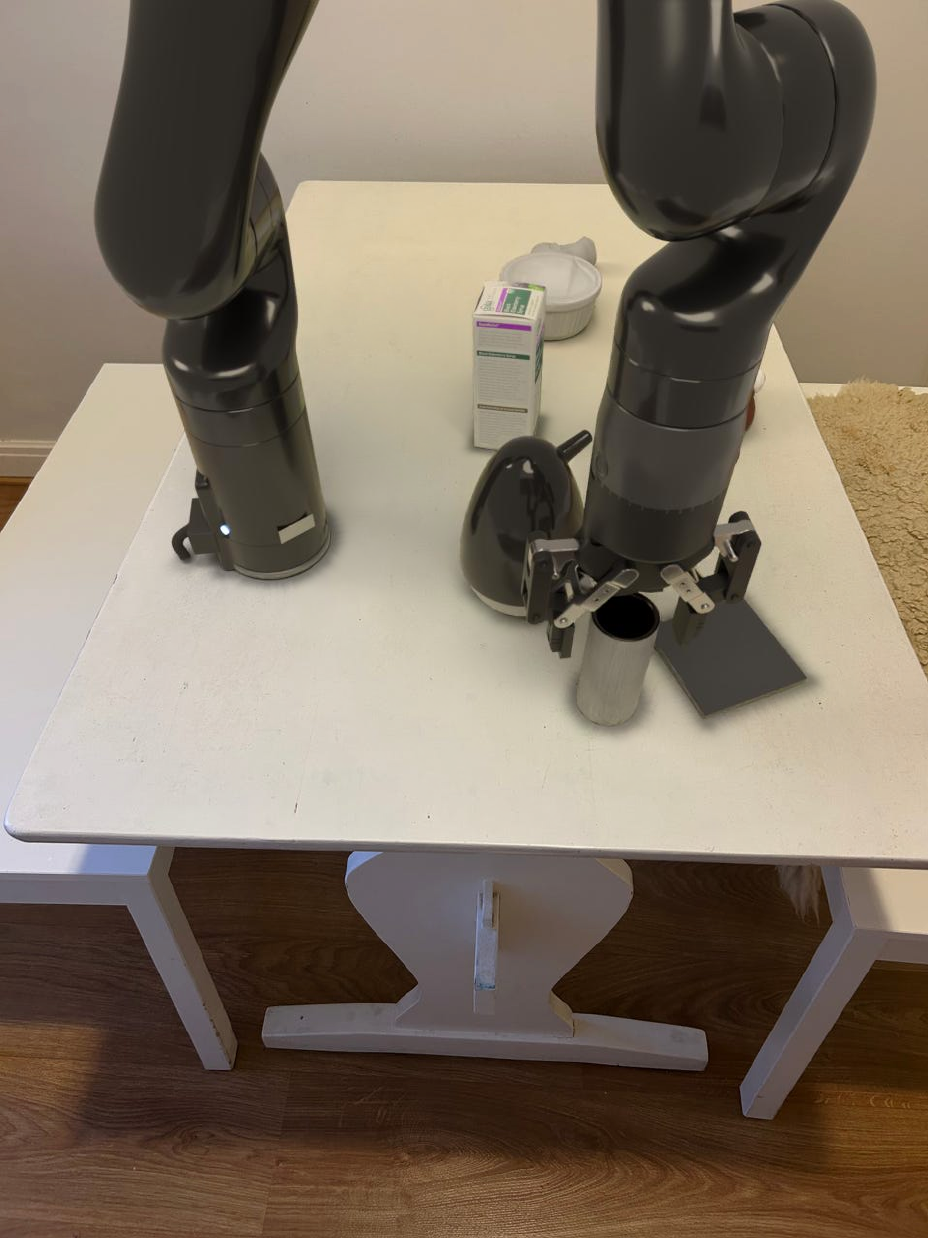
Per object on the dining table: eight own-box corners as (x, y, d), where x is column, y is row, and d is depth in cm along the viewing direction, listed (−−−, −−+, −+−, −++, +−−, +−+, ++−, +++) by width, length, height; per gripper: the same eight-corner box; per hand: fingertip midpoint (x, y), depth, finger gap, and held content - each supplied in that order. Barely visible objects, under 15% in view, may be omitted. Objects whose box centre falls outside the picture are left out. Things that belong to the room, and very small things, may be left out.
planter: (631, 675, 64) (654, 587, 56) (641, 725, 62) (666, 640, 54) (572, 677, 64) (587, 589, 56) (579, 727, 62) (596, 642, 54)
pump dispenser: (607, 604, 69) (636, 460, 57) (500, 654, 66) (506, 514, 54) (540, 528, 75) (553, 383, 63) (438, 571, 71) (431, 427, 60)
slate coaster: (704, 720, 62) (705, 715, 61) (643, 631, 67) (645, 626, 67) (805, 682, 64) (808, 677, 63) (739, 599, 69) (741, 594, 69)
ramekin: (614, 334, 94) (620, 290, 90) (523, 356, 91) (525, 312, 87) (569, 286, 101) (573, 243, 96) (483, 305, 98) (484, 261, 94)
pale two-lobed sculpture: (531, 292, 102) (526, 260, 104) (596, 288, 102) (590, 256, 104) (533, 266, 98) (528, 232, 100) (601, 261, 98) (595, 228, 100)
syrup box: (531, 455, 81) (540, 319, 70) (471, 447, 82) (471, 311, 70) (539, 419, 84) (550, 283, 73) (482, 412, 85) (484, 277, 74)
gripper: (766, 403, 48) (705, 591, 60) (519, 424, 47) (509, 611, 59) (817, 492, 43) (739, 675, 56) (543, 517, 42) (527, 698, 55)
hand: (621, 642), depth 57 cm, fingers open, 8 cm apart
